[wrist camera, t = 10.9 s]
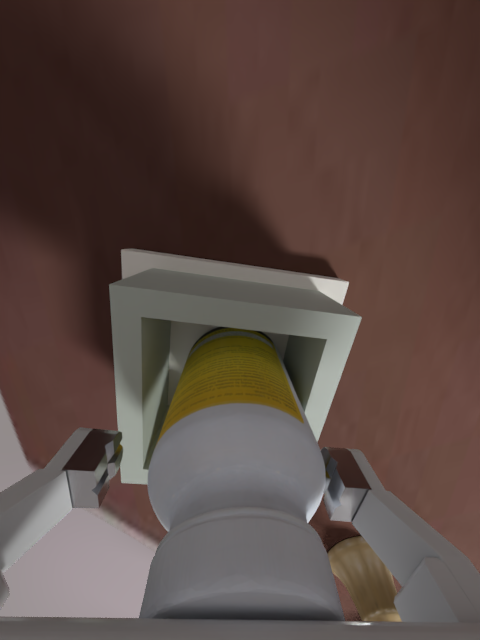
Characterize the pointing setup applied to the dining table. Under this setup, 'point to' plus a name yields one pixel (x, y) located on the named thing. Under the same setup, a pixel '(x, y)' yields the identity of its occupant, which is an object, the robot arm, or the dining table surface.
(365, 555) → the hand bell
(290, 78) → the dining table surface
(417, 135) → the dining table surface
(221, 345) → the pill bottle
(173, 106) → the dining table surface
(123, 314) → the well block
